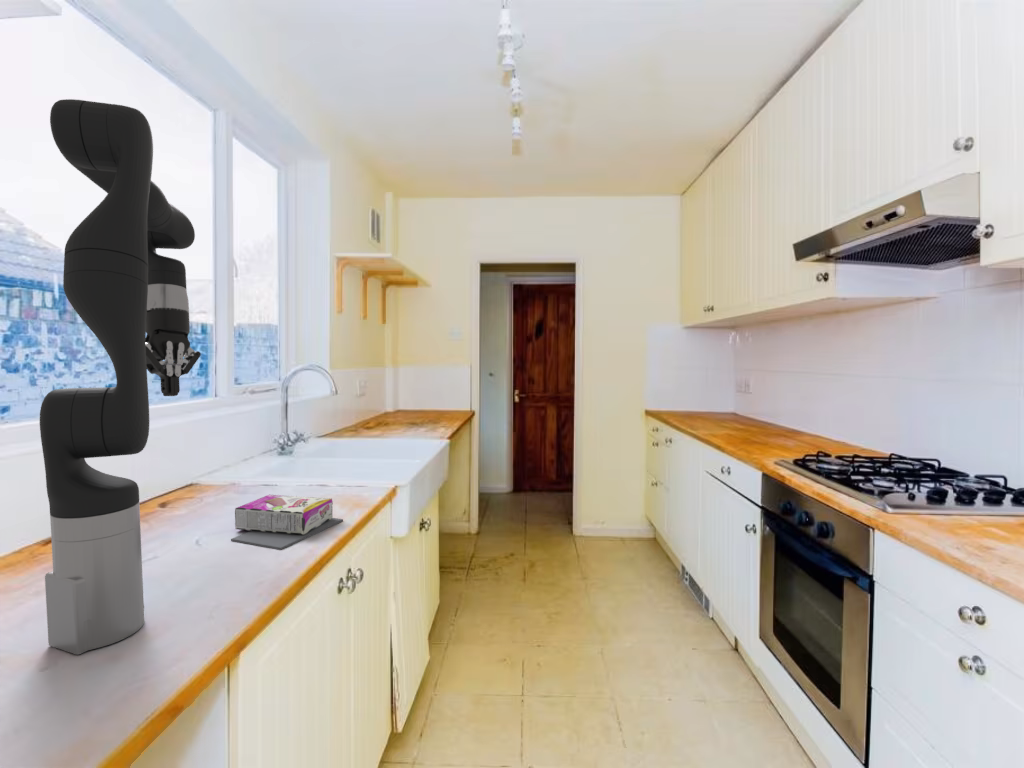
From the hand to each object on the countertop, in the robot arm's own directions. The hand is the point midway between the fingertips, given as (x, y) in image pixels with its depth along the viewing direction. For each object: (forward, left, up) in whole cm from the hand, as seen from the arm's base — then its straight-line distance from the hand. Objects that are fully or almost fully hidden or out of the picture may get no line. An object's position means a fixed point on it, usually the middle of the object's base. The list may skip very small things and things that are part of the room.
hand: (170, 395), depth 101 cm
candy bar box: (+13, -6, -26) cm, 30 cm away
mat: (+12, -18, -29) cm, 36 cm away
